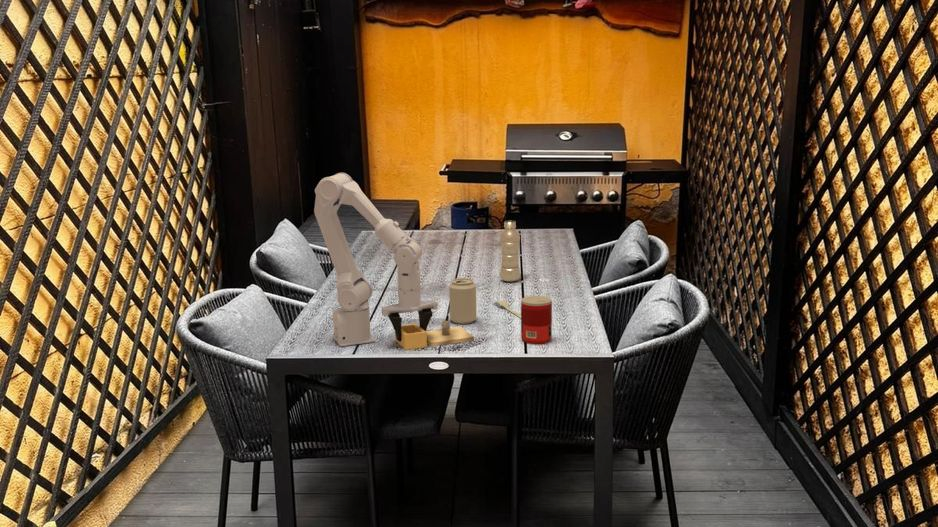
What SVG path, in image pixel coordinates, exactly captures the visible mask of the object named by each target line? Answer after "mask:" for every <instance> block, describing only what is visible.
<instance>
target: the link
mask: <svg viewBox="0 0 938 527" xmlns="http://www.w3.org/2000/svg"><path fill="white" fill-rule="evenodd" d="M426 331H427V330H426ZM426 331H424V330H423V329H422V328H421V327H420V325H418V324H417V323H416V322H415V323H409V324H401V335H402V340H401V341H398V340H397V338H396V334H395V333H394V339H395V343H397V344H398V345H399V346H400V347H402V349H404V350H405V351H408V350H415V349H416V350H417V349H420V348H421V349H422V348H428V343H427V333H426Z"/></svg>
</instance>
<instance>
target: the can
mask: <svg viewBox="0 0 938 527" xmlns="http://www.w3.org/2000/svg"><path fill="white" fill-rule="evenodd" d="M448 286H449V287H448V290H449V292H448V293H449V294H448V295H449V297H448V298H449V320H451V321H452V322H453V324H454V323H455V324H458V325H468V324H471V323H473V322H474V321H475V320H476V319H477V285H476V283H475V282H474V279H472V278H469V277H457V278H454V279H452V280H451V283H450V284H449V285H448Z"/></svg>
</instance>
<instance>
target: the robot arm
mask: <svg viewBox="0 0 938 527" xmlns="http://www.w3.org/2000/svg"><path fill="white" fill-rule="evenodd" d="M314 193H315V200H314V208H313V212H314V216H315V218H316V222H317V225H318V227H319V229H320V232H321V235H322V237H323V240H324V243H325V245H326V249H327V251H328V254H329V257H330V259H331V262H332V264H333V267H334V270H335V272H336V276H337V280H336V285H335V288H336V291H337V297H336V298H337V302H338V305H339V307H341V308H339V309H335V310H334V311H333V312H332V324H333V326H332V327H333V337H332V338H333V339H334V341H335V342H336V343H337V344H338V346H340V347H347V346H353V345H354V346H355V345H361V344H368V343H375V342H376V339H375V337H373V335H371V315H370V312H371V311H370V303H369V300H370V299H371V297H372V294H373V287H372V286H371V283H370V282H369V281H367V280H366V278H365V275H364V273H363V272H362V271H360V270H359V269H358V268H357V265H356V262H355V259H354V257H353V255H352V251H351V249H350V248H351V247H350V245H349V243H348V241H347V237H346V235H345V232H344V229H343V227H342V224H341V221H340V218H339V215H338V210H339V208H340V207H341V205H347V206H351V207H353V208H354V209H355V210H356V211H357V212H358V213H359V214H360V215H361V216H362V217H364V218H365V219H366V221H367V222H369V223H370V224H371V225H372V226H373V227H374V235H375V236H376V237H377V239H378V240H380V241H381V243H382V244H383V245H384V246H385V247H386V248H387V249H388V250H389V251H390V252H391V253H392V254H393V257H392V258H393V261H394V262H395V264H396V266H397V296H398V299H397V300H398V303H394V304H391V305H390V304H389V305H386V306H381V315H382V316H384V317H388V319H389V321H390V322H391V325H392V327H393V331H394V335H395V334H396V338H397V340H398V341H401V340H402V335H401V325H402V322H403V318H402V317H401V314H404V313H405V314H406V313H411V312H412V313H414V312H417V313H418V321H419V326H420V327H421V328H422V329H423V330H424V331H427V328H428V326H429V323H430V322H431V319H432V317H433V314H434V313H433V311H432V310H434V311H435V310H438V301H436V300H422V299H421V271H420V259H421V257H422V254H423V249H422V247H421V244H419V242H418V241H417V240H415V239H412V237H410V235H409V236H408V235H407V234H406V233H405V232H404V231H403V230H402V229H401V228H400V227H399V226H400V224H399V222H397V220H395V221H394V220H393V219H391V218H385V217H384V216H383V215H382V214H381V213H380V210H378V209H377V208H376V207H375V205H374V204H373V203H372V201H371V200H370V199H369V198H368V197H367V196H366V194H365V193H364V192H363V191H362V189H361V187H360V186H359V184H358V183H357V182H356V181H355V180H353V178H352V177H351V176H350V175H349V174H347V173H346V172H338V173H335V174H334V175H331V176H326V177H323V178H322V179H321V180H320V181H319V182H318V184H317V185H316V187H315V189H314Z"/></svg>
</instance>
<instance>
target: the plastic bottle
mask: <svg viewBox="0 0 938 527" xmlns="http://www.w3.org/2000/svg"><path fill="white" fill-rule="evenodd" d="M516 223H517V222H516V220H505V221H504V223H503V224H504V225H503V228H504V230H503V231H502V232H501V234H500V236H499V240H500V247H501V264H500V265H501V266H500V271H499V275H500V276H499V277H500V279H501V281H503V282H510V283H511V282H516V281H519V279H520V278H521V270H520V267H519V266H520V264H519V263H520V262H519V252H520V250H519V249H520V244H521V243H520V241H521V236H520V233H519V232H518V231H517V229H516V228H517V225H516Z"/></svg>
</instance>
